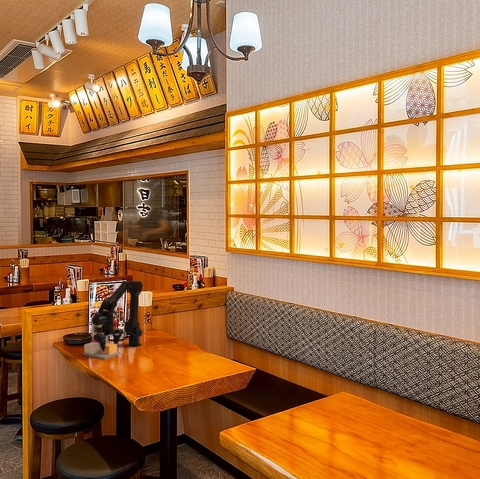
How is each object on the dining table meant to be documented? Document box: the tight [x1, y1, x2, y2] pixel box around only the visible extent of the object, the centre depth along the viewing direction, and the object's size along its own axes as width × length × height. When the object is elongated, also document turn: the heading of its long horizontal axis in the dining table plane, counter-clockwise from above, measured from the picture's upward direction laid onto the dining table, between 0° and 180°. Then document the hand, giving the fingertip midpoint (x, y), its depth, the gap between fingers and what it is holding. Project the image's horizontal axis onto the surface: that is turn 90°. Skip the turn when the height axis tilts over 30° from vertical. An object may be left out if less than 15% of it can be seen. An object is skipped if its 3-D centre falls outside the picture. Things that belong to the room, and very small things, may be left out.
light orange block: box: [102, 342, 118, 355], centre depth 286 cm, size 6×6×5 cm
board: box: [82, 341, 121, 360], centre depth 286 cm, size 12×17×6 cm
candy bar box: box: [90, 318, 109, 348], centre depth 304 cm, size 11×5×16 cm, turn 47°
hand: (109, 349), depth 286 cm, fingers open, 9 cm apart
